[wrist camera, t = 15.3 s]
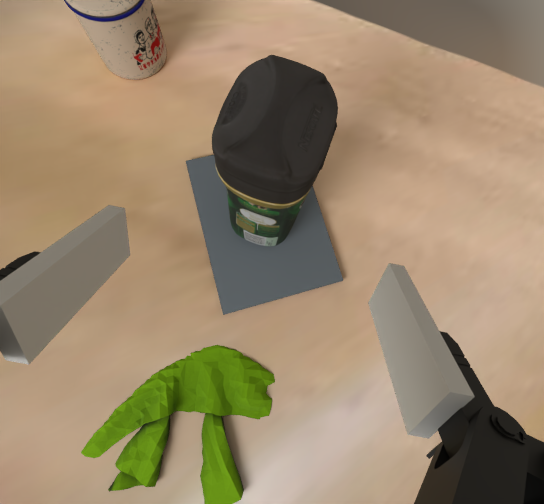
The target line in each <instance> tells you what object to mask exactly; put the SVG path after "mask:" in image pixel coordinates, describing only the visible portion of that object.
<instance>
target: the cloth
mask: <svg viewBox="0 0 544 504" xmlns="http://www.w3.org/2000/svg"><path fill="white" fill-rule="evenodd" d="M274 382H275V379H274V374H272V373H270V372H269V371H268V370H266V369H264V368H262V366H261V365H260V364H258V363H256V362H253V361H252V360H251V359H250V358H248V357H246V356H244V355H243V354H242V353H241V352H239V351H236V350H234V349H229V348H227V347H225V346H219V345H215V346H211V347H206V348H203V349H202V350H201V351H195V352H194V353H191V356H187V357H186V358H185V359H181V360H179V361H176V362H175V363H173V364H171V365H170V366H167V367H165V368H164V369H162V370H160V371H159V372H157V373H156V374H154V375H152V376H151V378H150V379H148V380H147V381H146V382H145V383H144V384H143V385H141V386H140V388H138V389H137V390H135V392H134V393H133V395H132V396H131V397H129V398H128V399H127V400H126V401H125V402H124V403H122V404H121V406H119V407H118V408H117V409H116V410H115V411H114V412H113V414H112V415H111V416H110V417H109V419H108V420H107V421H106V422H105V423H104V425H103V426H102V427H101V428H100V429H99V430H98V431H97V432H96V433H95V434H94V435H93V437H92V438H91V439H90V440H89V442H88V443H87V444H86V446H85V447H84V449H83V450H82V452H81V453H82V454H83V455H84V456H87V457H92V458H96V457H99V456H101V455H102V454H103V453H104V452H105V451H107V450H108V449H109V448H110V447H111V446H112V445H114V444H115V443H117V442H118V441H119V440H121V439H122V438H123V437H125V436H126V435H128V434H129V433H131V432H133V431H134V430H136V429H137V428H139V427H141V426H142V425H143V426H142V427H141V429H140V430H139V431H138V432H137V433H136V434H135V436H134V437H133V438H132V439H131V440H130V441H129V442H128V444H127V445H126V446H125V448H124V449H123V451H122V453H121V455H120V456H119V458H118V460H117V462H116V463H115V464H116V467H117V468H118V469H119V470H120V471H121V472H120V473H119V474H118V475H117V477H116V479H115V481H114V482H113V484H112V485H111V486H110V488H109V489H108V490H109V492H110V491H114V490H123V489H128V488H131V487H134V486H138V485H144V486H146V487H155V485H156V482H157V479H158V476H159V472H160V467H161V462H162V453H163V451H164V448H165V446H166V443H167V440H168V436H169V430H170V415H171V414H172V413H174V412H175V411H185V412H193V411H196V412H200V413H205V417H204V422H203V428H202V444H203V450H202V455H203V466H202V471H201V475H200V477H201V482H202V487H203V494H204V499H205V504H233V503H235V502H237V501H239V500H241V498H242V495H243V491H244V489H243V485H242V482H241V479H240V476H239V473H238V470H237V468H236V465H235V463H234V460H233V457H232V454H231V451H230V448H229V445H228V442H227V439H226V435H225V429H224V424H223V418H222V416H226V415H242V416H246V417H250V418H255V419H260V418H261V417H264V416H269V414H270V410H271V404H272V399H271V398H270V397H269V396H268V395H267V394H266V391H267V386H268V385H270V384H272V383H274Z"/></svg>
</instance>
